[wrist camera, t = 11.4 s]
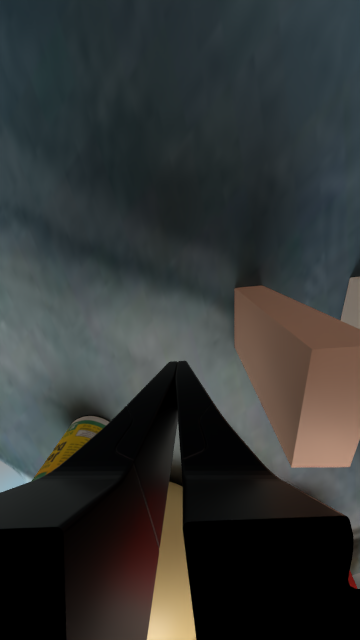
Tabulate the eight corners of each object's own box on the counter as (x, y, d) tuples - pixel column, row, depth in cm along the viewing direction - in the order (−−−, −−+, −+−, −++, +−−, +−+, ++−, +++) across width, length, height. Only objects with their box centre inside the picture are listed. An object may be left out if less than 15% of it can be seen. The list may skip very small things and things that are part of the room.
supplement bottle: (110, 454, 21) (50, 606, 12) (66, 437, 20) (-33, 585, 11) (126, 425, 19) (70, 580, 10) (79, 406, 18) (-28, 553, 9)
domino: (234, 287, 13) (312, 349, 5) (262, 285, 13) (392, 344, 5) (234, 346, 15) (291, 467, 7) (258, 345, 15) (349, 466, 6)
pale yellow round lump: (133, 520, 26) (98, 691, 16) (109, 468, 22) (40, 653, 12) (212, 519, 25) (228, 703, 15) (202, 463, 21) (214, 666, 10)
